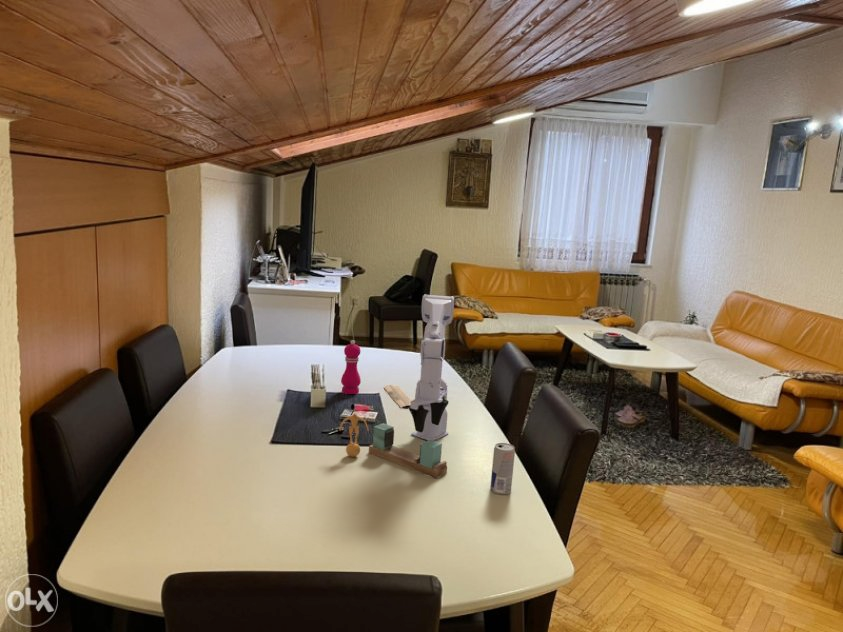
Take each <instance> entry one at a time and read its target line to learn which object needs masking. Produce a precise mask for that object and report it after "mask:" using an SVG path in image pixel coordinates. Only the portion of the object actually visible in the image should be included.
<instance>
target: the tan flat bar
mask: <svg viewBox="0 0 843 632" xmlns="http://www.w3.org/2000/svg"><path fill="white" fill-rule="evenodd" d="M383 389H384V390H385V391H386V393H387V394H388V395H389V396H390V398H391V399H392V400H393V401H394V402H395V404H396V405H397V406H398V407H399V408H400V409H402V408H403V407H406V406H408V407H409V405H411V401H412V400H411V398H410V397H409V396H408V395H407V394H406V392H404V391H403V389H401V388H400V386H398V385H395V384H394V385H393V384H390V385H389V384H388V385H385V386H383Z"/></svg>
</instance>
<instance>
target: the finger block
mask: <svg viewBox="0 0 843 632" xmlns="http://www.w3.org/2000/svg"><path fill="white" fill-rule="evenodd" d="M442 445H443V443H442V442H439V441H436V440H426V441H424V442H422V443H420V445H419V446H420V447H419V456H420V457H419V460H420V465H423V466H426V467H428V468H431V469H432V468H433V466H435V465H437V464H439V463H441V462H442V460H441V459H442V449H443V446H442Z"/></svg>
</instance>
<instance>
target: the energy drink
mask: <svg viewBox="0 0 843 632" xmlns="http://www.w3.org/2000/svg"><path fill="white" fill-rule="evenodd" d="M515 450H516V449H515V446H514V445H513V444H510V443H507V442H506V443H505V442H499V443H498V442H497V443H496V444H495V445H494V447H493V454H492V455H493V456H492V466H491V477H490V491H491V492H493V493H494V494H497V495H502V496H503V495H508V494H510V493H511V492H512V485H513V475H514V466H515V465H514V463H515V456H516V451H515Z"/></svg>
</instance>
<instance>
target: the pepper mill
mask: <svg viewBox="0 0 843 632" xmlns="http://www.w3.org/2000/svg"><path fill="white" fill-rule="evenodd" d="M343 349H344V350H343V353H344V355H345V357H344V358H345V359H344V361H345V363H346V365H345V370H344V372H343V373H342V376H341V379H340V380H341V381H340V382H341V384H342V387H341V393H342V392H343V393H342V394H344V393H346V394H345V395H347V394H355V395H358V394H359V393H360V388H359V386H360V384H361V381H362V380H361V376H360V374H359V371H358V362H359V361H360V360H359V359H360V358H359V356H360V355H361V348H360V346H359V345H358V344H356V340H354V339H351V340H350V344H347V345H346V346H345V347H344V348H343ZM357 393H358V394H357Z"/></svg>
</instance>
